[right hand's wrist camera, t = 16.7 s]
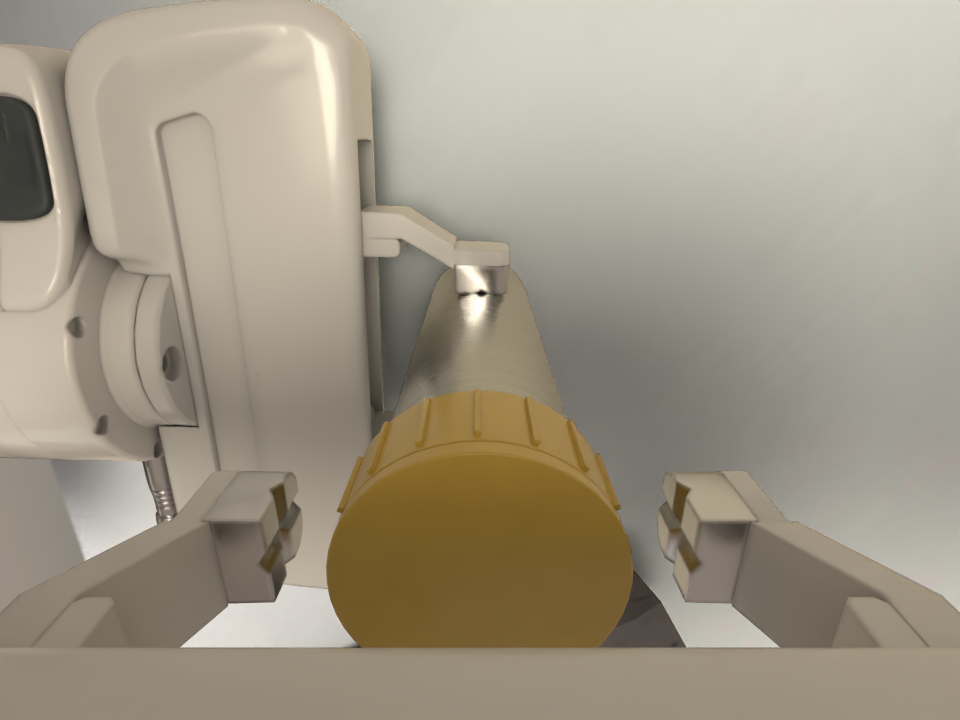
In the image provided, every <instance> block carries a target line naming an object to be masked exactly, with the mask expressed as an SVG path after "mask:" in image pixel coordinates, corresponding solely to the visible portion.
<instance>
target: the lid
mask: <svg viewBox="0 0 960 720" xmlns="http://www.w3.org/2000/svg"><path fill="white" fill-rule="evenodd" d="M619 509H621V507H620V504H619V501H618V499H617V496H616V494H615V491H614V489H613V486H612V484H611V481H610V479H609V476H608V473H607V471H606V468H605V466H604V463H603V461H602V458H601V456H600V454H599V453H598V454H596V455H595V453H594V451H593V449H592V448H591V446H590V445H589V443H588V442H587V440H586V439H585V437H584V436H583V435H582V434H581V433H580V432H579V431H578V430H577V429H576V426H575V424H574V421H572V420H571V419H569V420H566V419H565V418H564V417H563V416H561V415H560V414H558V413H557V412H555V411H553V410H552V409H550V408H549V407H547V406H545V405H542V404H540V403H538V402H536V401H534V400H532V397H529V396H526V398H525V397H522V396H518V395H515V394H510V393H505V392H499V391H486V390H481V389H480V388H475V390H473V391H460V392H455V393H449V394H444V395H441V396H438V397H434V398H431V399H430V397H427V398H425V399H424V401H423V402H421V403H419V404H417V405H415V406H412V407H411V408H409V409H407V410H406V411H404V412H403V413H401V414H399V415H398V416H397V417H395V418H394V419H393V420H392V421H390V422H389V423H388V422H387V421H386V422H385V423H383V425H382V428H381V431H380V432H379V433H378V434H377V435H376V436H375V438H374V439H373V441H372V442H371V444H370V445H369V446H368V448H367V449H366V451H365V454H364V456H363V457H360V456H358V458H357V461H356V463H355V466H354V468H353V471H352V473H351V476H350V478H349V481H348V484H347V486H346V489H345V491H344V494H343V496H342V499H341V501H340V504H339V506H338V509H337V512H339V513H341V515H340V517H339V520H338V523H337V525H336V528H335V530H334V533H333V536H332V539H331V542H330V546H329V549H328V554H327V563H326V579H327V587H328V591H329V596H330V600H331V602H332V605H333V607H334V610H335V613H336V615H337V616H338V618H339V620H340V622H341V623H342V625H343V627H344V628H345V630H346V631H347V632H348V633H349V635H350V636H351V637H352V638H353V640H354V641H355V642H356V643H357V644H358V645H359V646H360V647H361V648H598V647H599V646H600V645H601V644H602V643H603V642H604V641H605V640H606V638H607V637H608V636H609V635H610V633H611V632H612V631H613V630H614V628H615V627H616V625H617V623H618V622H619V620H620V618H621V617H622V615H623V613H624V610H625V608H626V605H627V603H628V600H629V596H630V592H631V587H632V580H633V561H632V553H631V547H630V545H629V542H628V538H627V535H626V533H625V530H624V527H623V525H622V522H621V519H620V517H619V514H618V511H617V510H619Z"/></svg>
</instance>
